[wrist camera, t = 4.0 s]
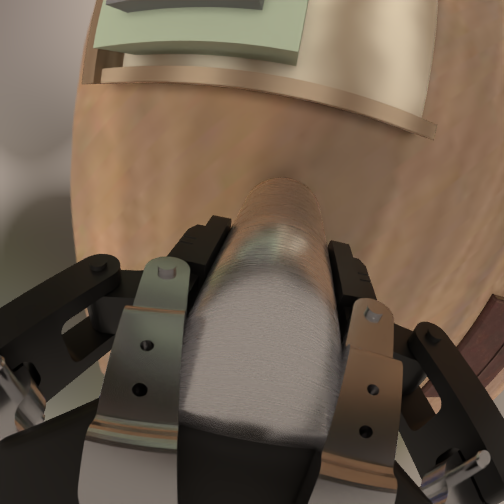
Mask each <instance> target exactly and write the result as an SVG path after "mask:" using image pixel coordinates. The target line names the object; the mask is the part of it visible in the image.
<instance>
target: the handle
mask: <svg viewBox="0 0 504 504" xmlns="http://www.w3.org/2000/svg"><path fill="white" fill-rule="evenodd" d="M341 361H342V344H341V335H340V327H339V319H338V311H337V304H336V297H335V290H334V284H333V277H332V271H331V265H330V259H329V253H328V248H327V242H326V237H325V231H324V226H323V221H322V216H321V211H320V206H319V203H318V200H317V199H316V197H315V195H314V194H313V192H312V191H311V190H310V189H309V188H308V187H306V186H305V185H304V184H302V183H300V182H298V181H296V180H293V179H290V178H272V179H268V180H266V181H263V182H262V183H260V184H258V185H257V186H256V187H255V188H253V189H252V191H251V192H250V193H249V195H248V196H247V198H246V200H245V202H244V204H243V206H242V208H241V210H240V212H239V214H238V215H237V217H236V219H235V221H234V223H233V225H232V227H231V229H230V231H229V233H228V235H227V237H226V239H225V241H224V243H223V245H222V247H221V249H220V251H219V253H218V255H217V257H216V259H215V261H214V263H213V265H212V267H211V269H210V271H209V273H208V275H207V277H206V279H205V281H204V283H203V285H202V288H201V290H200V292H199V294H198V296H197V298H196V300H195V302H194V304H193V306H192V308H191V310H190V312H189V315H188V317H187V319H186V326H185V334H184V344H183V354H182V367H181V381H180V397H179V416H180V425H184V426H187V427H191V428H195V429H198V430H202V431H206V432H210V433H214V434H218V435H223V436H227V437H232V438H237V439H242V440H247V441H253V442H259V443H265V444H272V445H279V446H287V447H296V448H306V449H316V447H317V446H318V445H319V444H320V443H321V442H322V441H323V440H324V439H325V438H326V437H327V435H328V431H329V427H330V423H331V419H332V414H333V410H334V405H335V400H336V395H337V389H338V384H339V377H340V370H341Z"/></svg>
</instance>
